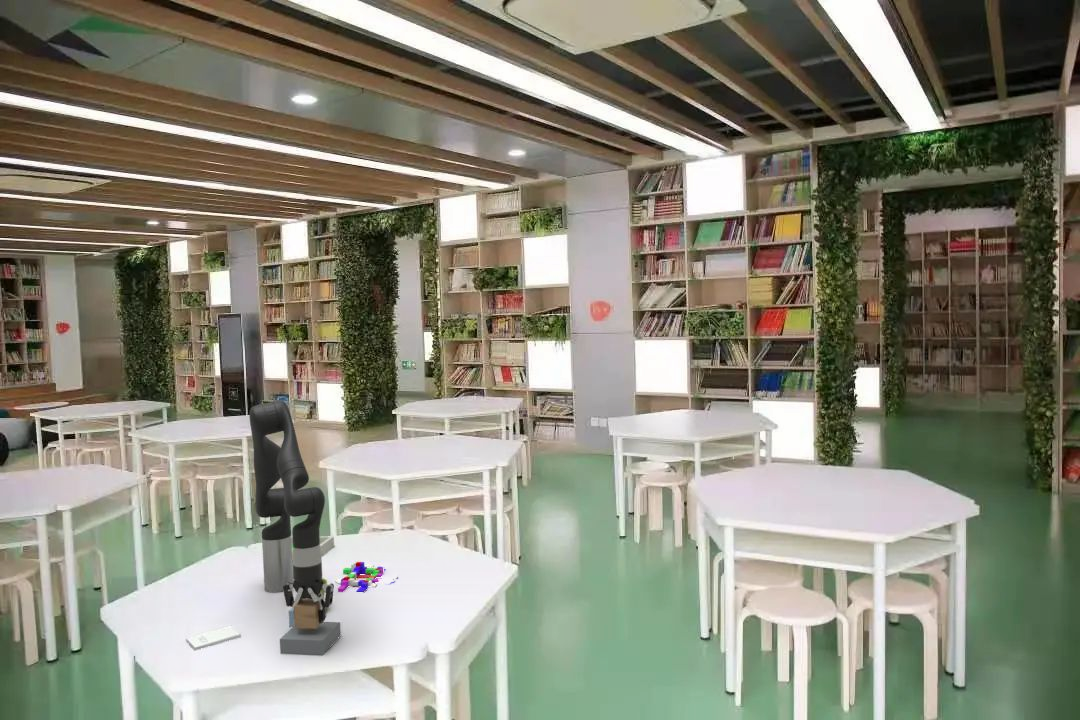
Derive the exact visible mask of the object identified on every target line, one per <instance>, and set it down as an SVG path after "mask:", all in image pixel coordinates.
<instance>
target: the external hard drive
mask: <svg viewBox="0 0 1080 720" xmlns="http://www.w3.org/2000/svg"><path fill="white" fill-rule="evenodd" d="M239 638H242V635H241V632H240V631H239V630H238V629H237V628H235V627H234V626H232V625H229V626H225V627H221V628H218V629H214V630H210V631H207V632H204V633H201V634H198V635H193V636H190V637H186V638H185V642H186V641H187V642H188V643H189V644H188V643H187V642H186V643H187V644H188V645H189V646H190V647H191V648H192V649H193V650H194V651H198V650H201V648H202V649H205V648H208V646H209V647H211V646H212V647H213V646H215V645H218V644H222V643H225V641H226V642H229V640H230V641H232V640H237V639H239Z"/></svg>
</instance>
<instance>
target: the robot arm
mask: <svg viewBox="0 0 1080 720" xmlns="http://www.w3.org/2000/svg"><path fill="white" fill-rule="evenodd" d="M290 411H291V410H290V408H289V406H288V404H287V403H286V402H285V401H284V400H281V399H280V400H275V401H270V402H265V403H259V404H257V405H253V406H252V407H251V408H250V410H249V416H248V417H249V424H250V430H251V436H252V437H251V439H252V446H253V469H254V479H255V495H254V496H255V502H254V503H255V504H254V505H255V506H254V507H255V511H256V514H257V516H258V517H259V518H263V519H265V518H266V519H268V518H276V517H280V518H278V519H277V520H276V521H275V522H274V523H271V524H270V525H268V526H265V527H264V528H263V529H261V544H262V546H261V547H262V549H261V550H262V563H263V566H262V568H263V584H264V586H263V587H264V591H265V592H269V593H279V592H283V595H284V601H285V605H286V607H291V608H293V609H294V606H295V605H296V604H298V603H299V602H300V601H302V599H306V598H309V599H313V601H314V603H316V604H318V608H319V610H318V615H319V623H322V622H325V621H326V618H327V612H326V611H327V609H328V608H329V607H330V606H331V605H332V604H333V599H334V589H335V584H334V583H330V584H328V583H327V584H324V582H323V581H322V578H323V561H322V560H323V559H322V556H321V548H320V528H321V527H320V526H321V521H322V517H323V513H324V509H325V503H326V499H325V498H326V497H325V494H324V491H323V490H322V489H321V488H320V487H317V486H313V487H307V488H303V487H305V486H306V485H307V484H308V483H309V481H310V477H309V473H308V470H307V467H306V465H305V464H304V460H303V458H302V455H301V451H300V447H299V443H298V438H297V434H296V430H295V426H294V422H293V419H292V414H291V412H290ZM281 432H283V441H282V443H281V446H279V445H278V444H277V443H276V442H274V441H272V440H271V439H270V438H268V437H267V436H268V435H273V434H276V433H281ZM280 480H281V482H282V485H283V487H275V488H274V486H275V485H276V484H277V483H278V482H279V481H280ZM272 487H273V488H272ZM307 515H308V516H307ZM302 516H307V517H306V519H305V520H303V521H301V522H298V523H297V524H295V525H293V527H292V526H291V517H293V518H294V517H295V518H296V517H302ZM291 527H292V529H291ZM291 536H293V556H292V541H291ZM322 588H323V589H324V592H325V593H324V599H323V594H322V592H321V590H322ZM293 591H295V592H296V595H295V598H294V593H293ZM317 596H318V597H317Z"/></svg>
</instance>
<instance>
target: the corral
mask: <svg viewBox="0 0 1080 720" xmlns="http://www.w3.org/2000/svg"><path fill="white" fill-rule="evenodd" d="M319 536H320V535H319ZM291 541H292V545H293V535H291ZM334 547H335V537H334V536H328V535H327V536H324V535H321V536H320V548H321V557H322V556H324V555H326V554H327V553H328V552H330V550H332V549H333V548H334ZM292 556H293V549H292Z"/></svg>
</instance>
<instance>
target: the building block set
mask: <svg viewBox="0 0 1080 720" xmlns="http://www.w3.org/2000/svg"><path fill="white" fill-rule="evenodd" d="M373 566H374V567H373ZM367 567H369V568H367ZM372 567H373V568H372ZM383 568H384V567H383V566H377V567H376V568H375V565H374V564H365V561H354V562H352V564H351V566H350V567H344V569H343V570H342V574H343V575H346V576H344V577H343V578H338V579H336V580H335V581H334V583H335V584H337V585H340V586H339V587H338V588H337V593H344V592H345V591H346V590H347V589H348V588H349V587H348V586H354V587H356V586H361V587H358V589H356V591H355V592H364V591H365V590H366V589H367V588H368V589H369V587H368V586H372V587H374V586H376V585H377V586H378V584H376V583H375V582H381V579H379V578H376V577H381V576H382V575H384V573H383ZM366 573H367V574H366ZM360 574H366V575H360ZM370 574H372V575H370ZM356 578H357V579H356ZM375 578H376V579H375ZM372 583H374V584H372ZM377 586H376V587H377ZM347 587H348V588H347ZM346 588H347V589H346ZM345 589H346V590H345ZM368 589H367V590H368ZM344 590H345V591H344ZM367 590H366V591H367ZM343 591H344V592H343ZM366 591H365V592H366ZM365 592H364V593H365Z"/></svg>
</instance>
